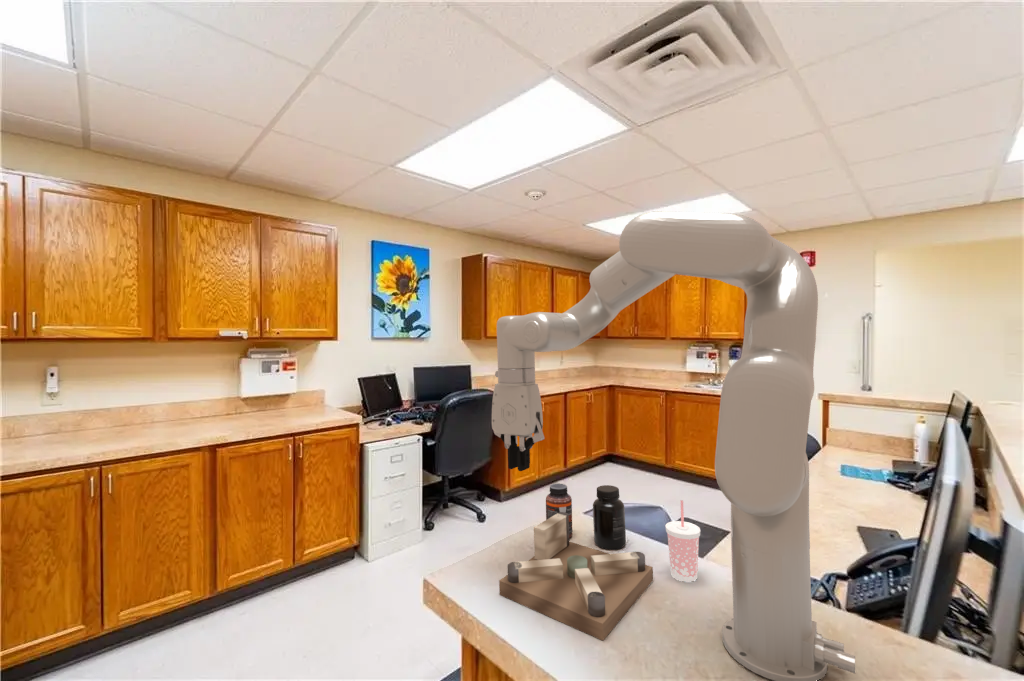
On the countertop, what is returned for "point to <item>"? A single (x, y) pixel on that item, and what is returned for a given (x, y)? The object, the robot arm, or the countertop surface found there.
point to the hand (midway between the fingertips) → (519, 467)
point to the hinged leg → (551, 536)
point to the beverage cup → (683, 548)
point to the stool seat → (580, 586)
